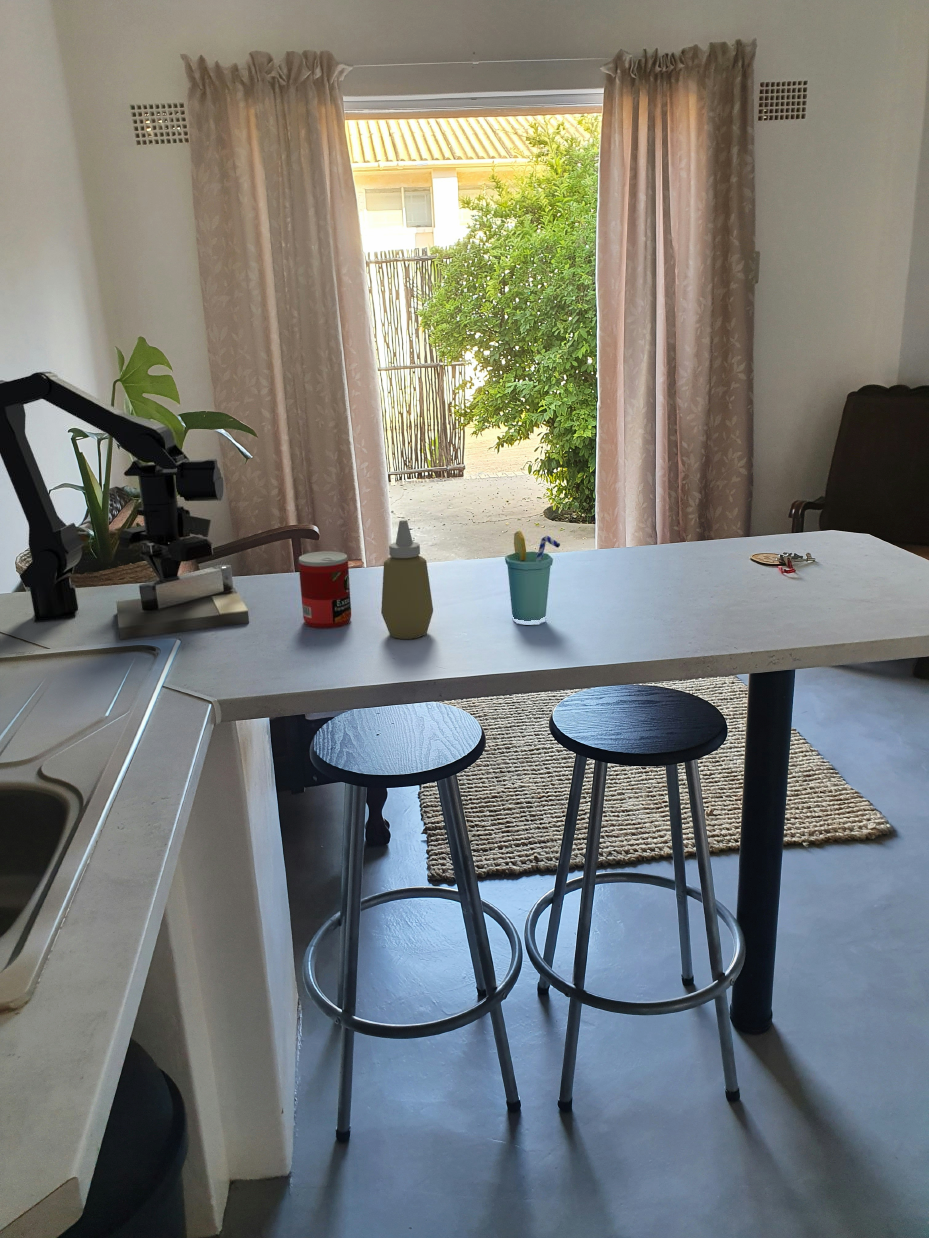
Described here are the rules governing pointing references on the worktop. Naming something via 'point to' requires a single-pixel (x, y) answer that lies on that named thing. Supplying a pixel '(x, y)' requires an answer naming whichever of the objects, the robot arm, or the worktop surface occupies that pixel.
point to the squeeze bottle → (406, 588)
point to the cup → (529, 579)
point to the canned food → (325, 589)
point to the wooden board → (181, 615)
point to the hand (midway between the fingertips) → (170, 591)
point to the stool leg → (185, 587)
